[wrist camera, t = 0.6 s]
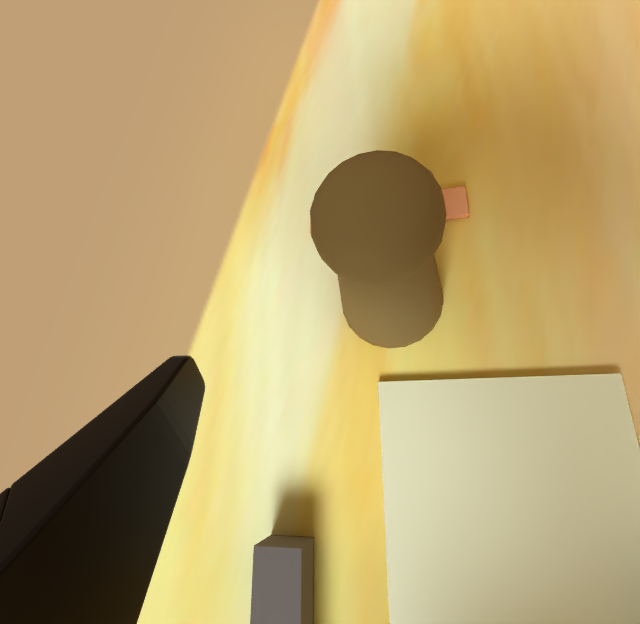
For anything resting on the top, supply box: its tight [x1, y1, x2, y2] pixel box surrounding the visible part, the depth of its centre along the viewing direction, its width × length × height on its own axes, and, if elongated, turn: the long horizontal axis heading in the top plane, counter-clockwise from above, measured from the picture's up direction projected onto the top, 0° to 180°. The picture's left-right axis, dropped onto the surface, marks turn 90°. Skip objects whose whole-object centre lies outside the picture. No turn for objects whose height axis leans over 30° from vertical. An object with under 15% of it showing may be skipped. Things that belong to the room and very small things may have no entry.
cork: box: [310, 151, 447, 348], centre depth 19 cm, size 6×6×11 cm
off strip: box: [310, 186, 469, 233], centre depth 26 cm, size 2×10×1 cm, turn 91°
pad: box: [378, 373, 640, 624], centre depth 19 cm, size 12×12×1 cm
